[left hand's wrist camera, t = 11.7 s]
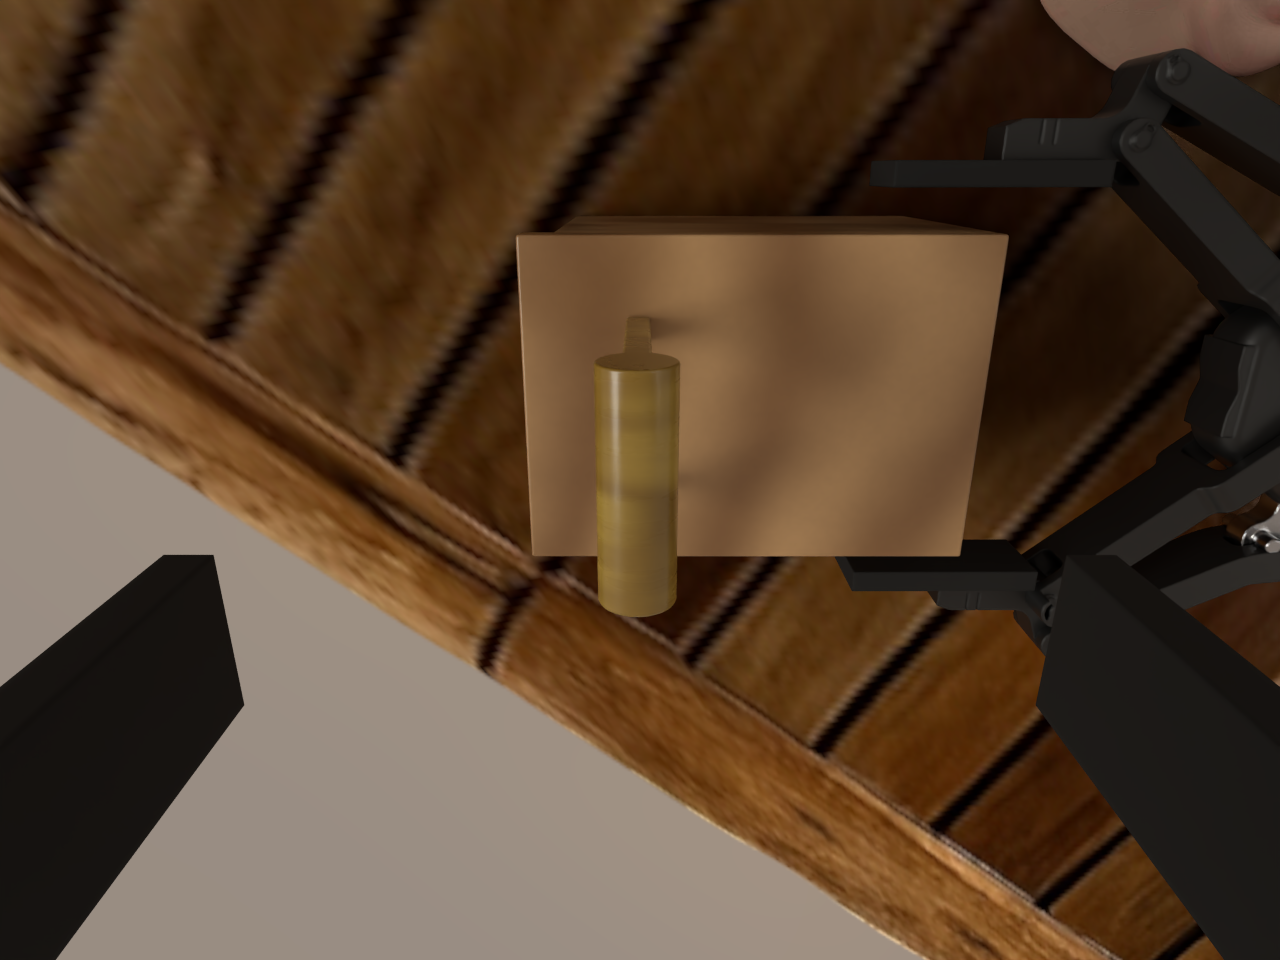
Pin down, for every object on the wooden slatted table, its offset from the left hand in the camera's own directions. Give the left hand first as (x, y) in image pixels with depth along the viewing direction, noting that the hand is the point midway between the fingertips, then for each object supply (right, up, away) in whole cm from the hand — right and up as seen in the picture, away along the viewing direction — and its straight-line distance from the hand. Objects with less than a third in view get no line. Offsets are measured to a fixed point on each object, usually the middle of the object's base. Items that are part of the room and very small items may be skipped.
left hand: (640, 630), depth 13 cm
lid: (+3, +5, +13) cm, 14 cm away
